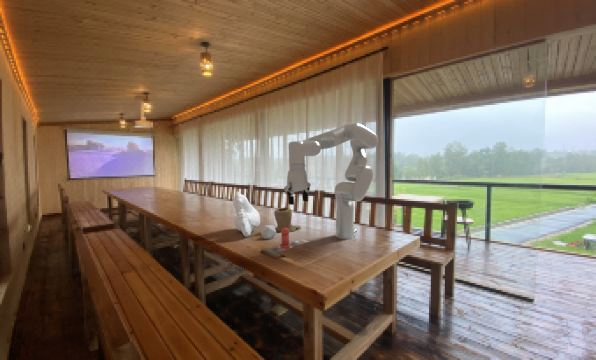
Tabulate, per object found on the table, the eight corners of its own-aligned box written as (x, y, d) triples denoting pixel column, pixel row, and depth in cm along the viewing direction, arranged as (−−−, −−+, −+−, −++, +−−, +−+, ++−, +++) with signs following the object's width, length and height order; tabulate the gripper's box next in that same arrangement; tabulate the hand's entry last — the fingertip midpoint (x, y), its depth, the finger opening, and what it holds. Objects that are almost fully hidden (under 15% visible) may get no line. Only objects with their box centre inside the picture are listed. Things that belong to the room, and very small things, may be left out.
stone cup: (270, 233, 157) (270, 208, 156) (278, 228, 169) (278, 205, 167) (294, 236, 153) (294, 210, 152) (301, 230, 164) (301, 206, 163)
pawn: (285, 244, 133) (285, 225, 132) (292, 246, 130) (292, 227, 129) (278, 247, 130) (278, 227, 129) (285, 249, 126) (285, 229, 126)
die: (270, 244, 140) (279, 228, 142) (256, 235, 141) (266, 220, 143) (271, 245, 148) (280, 230, 150) (258, 236, 149) (267, 222, 151)
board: (298, 239, 145) (298, 237, 145) (315, 244, 137) (315, 242, 137) (261, 252, 127) (261, 249, 127) (278, 258, 118) (278, 255, 118)
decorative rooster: (241, 215, 174) (225, 189, 158) (264, 212, 172) (250, 184, 156) (234, 248, 156) (215, 222, 140) (259, 245, 153) (243, 217, 137)
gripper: (303, 166, 136) (305, 199, 138) (278, 168, 124) (279, 204, 125) (314, 166, 131) (316, 200, 132) (289, 169, 118) (290, 206, 120)
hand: (298, 202), depth 129 cm, fingers open, 9 cm apart
